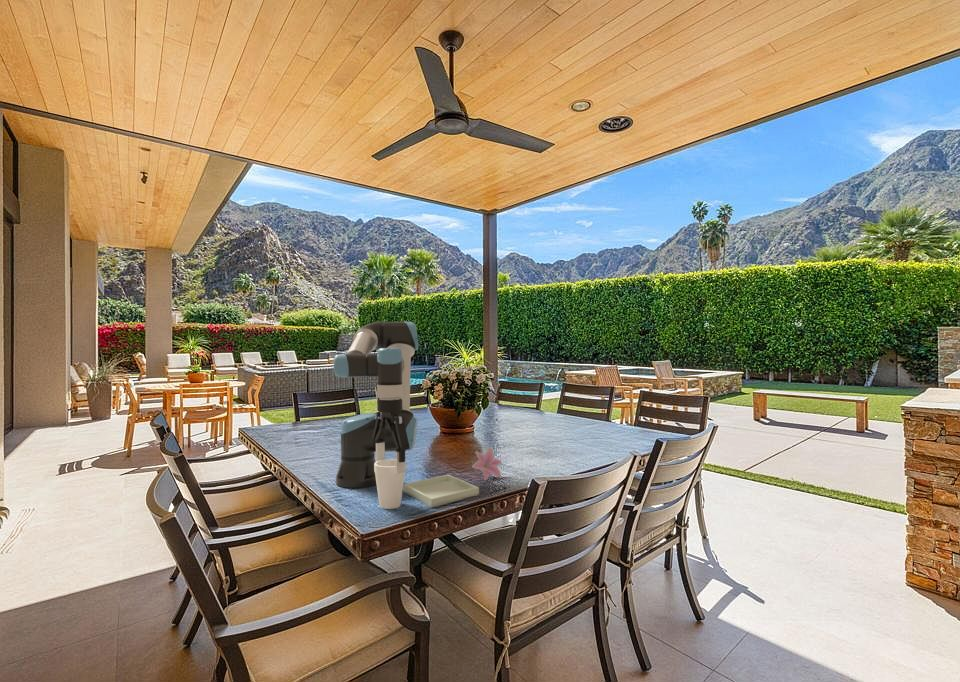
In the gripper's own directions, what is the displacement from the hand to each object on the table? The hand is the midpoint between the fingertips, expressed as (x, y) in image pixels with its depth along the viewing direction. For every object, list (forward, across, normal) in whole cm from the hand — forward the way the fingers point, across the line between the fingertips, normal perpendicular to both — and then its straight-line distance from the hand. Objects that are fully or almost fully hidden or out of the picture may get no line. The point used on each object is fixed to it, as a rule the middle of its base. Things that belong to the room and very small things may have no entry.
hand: (390, 468), depth 140 cm
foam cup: (+12, 0, 0) cm, 12 cm away
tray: (+11, 0, -18) cm, 22 cm away
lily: (+11, +5, -42) cm, 44 cm away
